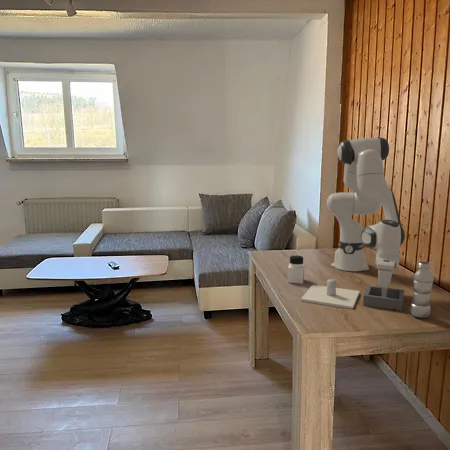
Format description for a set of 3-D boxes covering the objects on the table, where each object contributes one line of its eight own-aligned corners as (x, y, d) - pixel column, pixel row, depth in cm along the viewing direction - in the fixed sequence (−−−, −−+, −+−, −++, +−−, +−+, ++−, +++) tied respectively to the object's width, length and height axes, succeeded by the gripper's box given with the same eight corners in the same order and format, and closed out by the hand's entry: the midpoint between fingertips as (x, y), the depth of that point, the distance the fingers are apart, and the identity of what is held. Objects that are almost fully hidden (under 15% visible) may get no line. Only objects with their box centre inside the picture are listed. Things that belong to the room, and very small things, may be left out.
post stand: (312, 286, 181) (313, 271, 180) (359, 293, 173) (360, 277, 171) (300, 301, 163) (301, 284, 162) (352, 309, 155) (353, 291, 154)
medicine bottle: (303, 283, 185) (304, 258, 183) (287, 282, 186) (288, 257, 184) (303, 279, 192) (304, 254, 190) (288, 278, 193) (289, 253, 191)
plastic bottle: (406, 313, 151) (410, 260, 147) (423, 312, 151) (428, 260, 148) (415, 320, 144) (420, 265, 141) (433, 319, 145) (439, 265, 142)
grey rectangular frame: (367, 294, 171) (367, 285, 171) (403, 299, 165) (404, 289, 165) (362, 305, 159) (363, 295, 158) (402, 311, 153) (402, 300, 152)
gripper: (381, 254, 176) (379, 285, 178) (376, 265, 157) (374, 299, 160) (397, 255, 173) (394, 287, 175) (394, 267, 155) (391, 302, 157)
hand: (384, 293), depth 167 cm, fingers open, 8 cm apart
